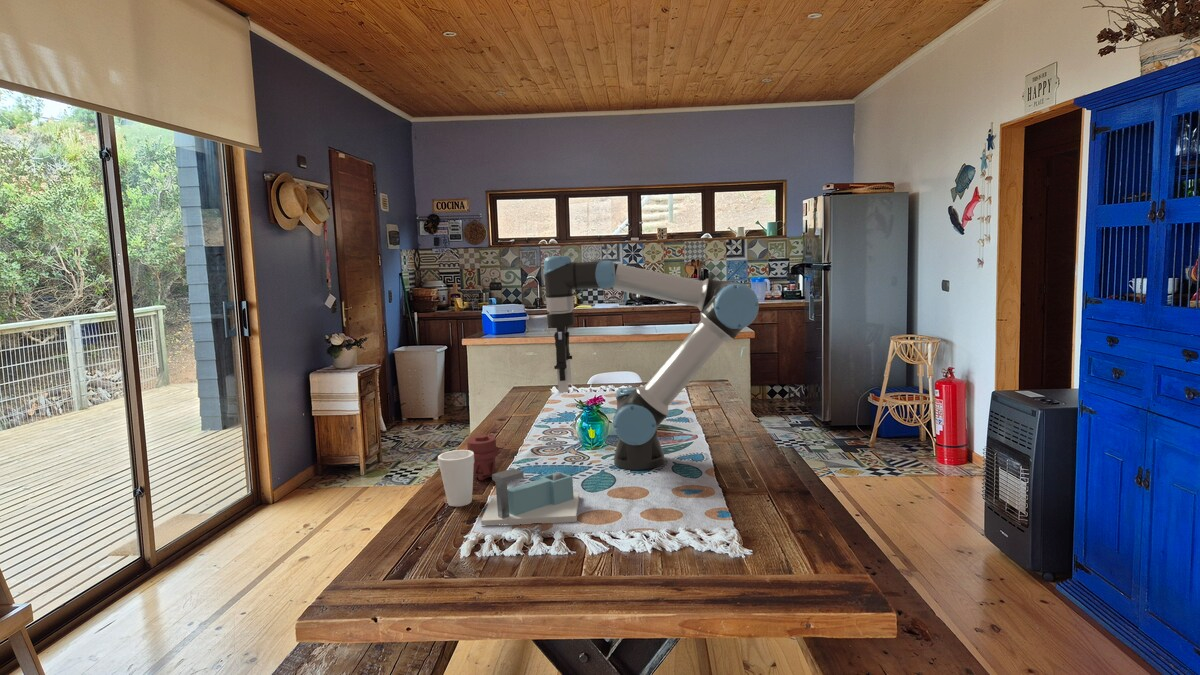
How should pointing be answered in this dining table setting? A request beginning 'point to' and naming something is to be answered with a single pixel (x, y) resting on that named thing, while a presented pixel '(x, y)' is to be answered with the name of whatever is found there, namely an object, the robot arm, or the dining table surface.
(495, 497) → the board
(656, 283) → the robot arm
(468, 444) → the mechanical component
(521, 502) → the link
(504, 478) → the block
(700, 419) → the dining table surface
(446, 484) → the foam cup
